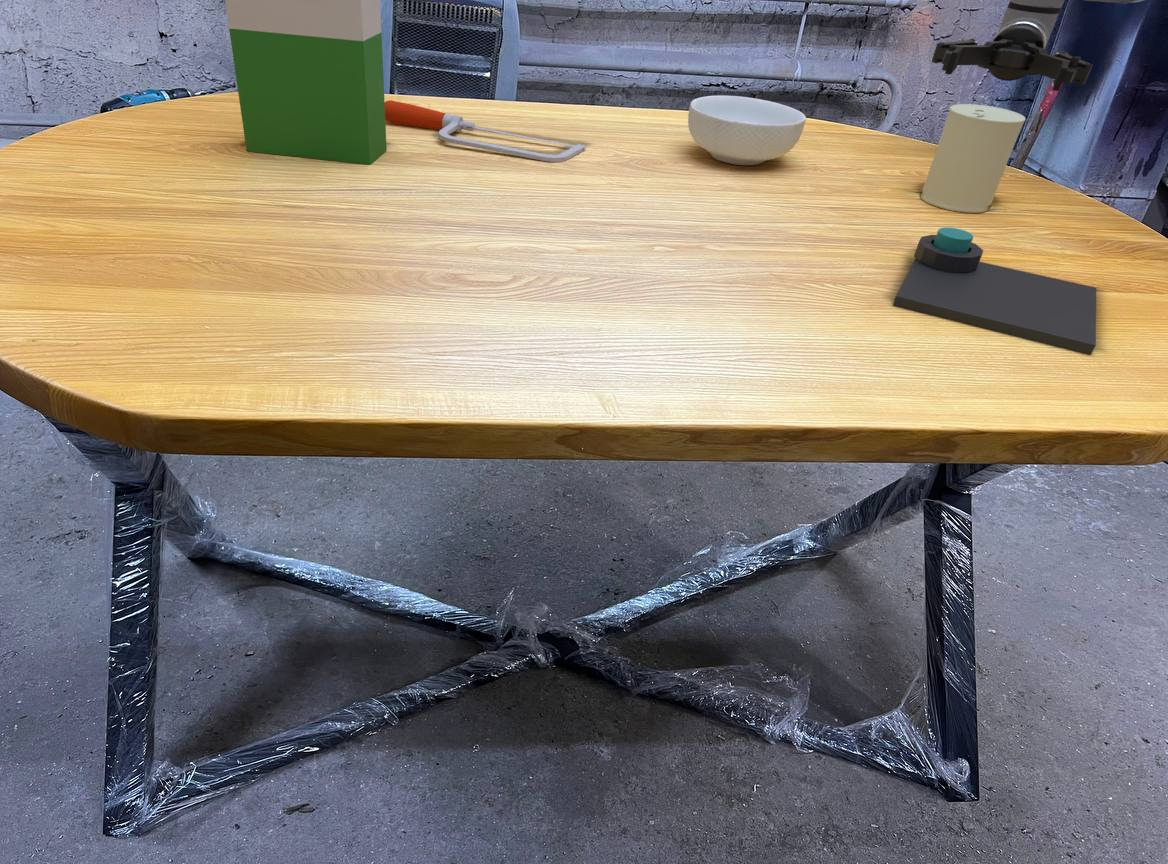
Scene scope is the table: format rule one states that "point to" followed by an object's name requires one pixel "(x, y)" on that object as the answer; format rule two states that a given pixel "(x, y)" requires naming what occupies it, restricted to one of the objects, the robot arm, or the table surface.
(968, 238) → the tare button
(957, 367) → the table surface
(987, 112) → the can
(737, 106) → the cereal bowl
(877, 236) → the table surface
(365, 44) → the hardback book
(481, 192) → the table surface
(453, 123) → the hand saw
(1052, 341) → the scale
